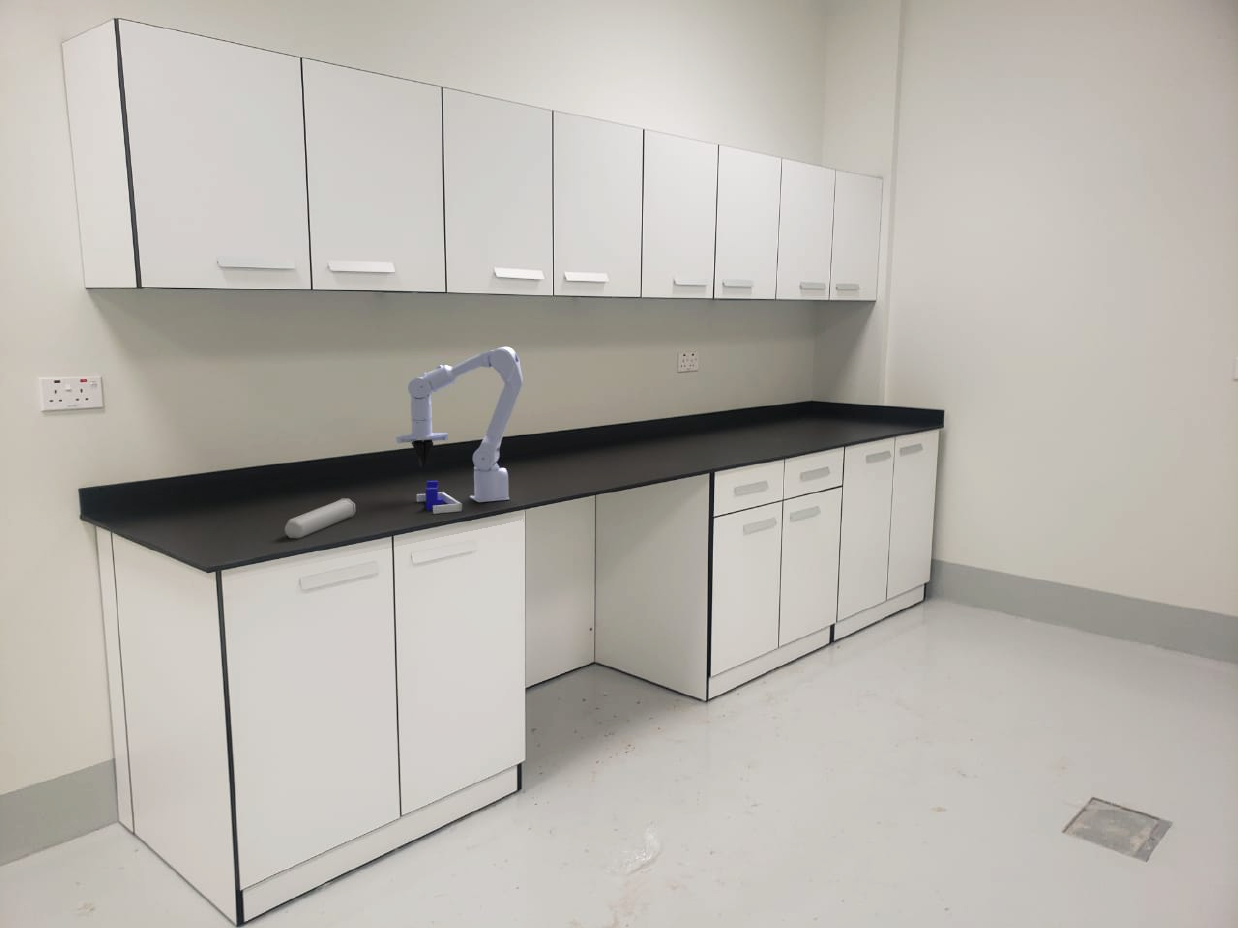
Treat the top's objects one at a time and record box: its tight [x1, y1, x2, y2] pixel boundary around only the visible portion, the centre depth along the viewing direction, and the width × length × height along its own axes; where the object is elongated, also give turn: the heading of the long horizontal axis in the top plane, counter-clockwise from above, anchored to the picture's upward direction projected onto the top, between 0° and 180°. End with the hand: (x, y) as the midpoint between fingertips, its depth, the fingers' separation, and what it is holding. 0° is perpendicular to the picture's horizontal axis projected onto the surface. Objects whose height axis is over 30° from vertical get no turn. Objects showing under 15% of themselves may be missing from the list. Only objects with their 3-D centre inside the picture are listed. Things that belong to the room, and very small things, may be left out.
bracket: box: [416, 491, 463, 515], centre depth 244 cm, size 8×18×2 cm, turn 28°
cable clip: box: [425, 480, 444, 511], centre depth 245 cm, size 12×4×6 cm, turn 11°
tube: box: [284, 497, 356, 539], centre depth 219 cm, size 5×5×25 cm
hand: (423, 466), depth 253 cm, fingers closed
